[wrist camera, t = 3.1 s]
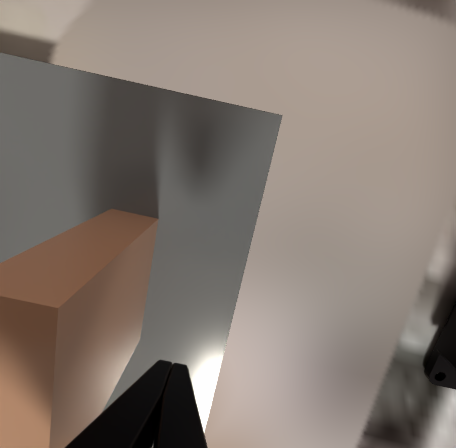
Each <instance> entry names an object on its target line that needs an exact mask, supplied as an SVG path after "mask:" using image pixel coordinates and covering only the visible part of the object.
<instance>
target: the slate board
mask: <svg viewBox="0 0 456 448" xmlns="http://www.w3.org/2000/svg"><path fill="white" fill-rule="evenodd" d="M281 119H282V115H279V114H274V113H269V112H265V111H260V110H256V109H252V108H247V107H243V106H238V105H234V104H229V103H225V102H220V101H216V100H211V99H207V98H202V97H198V96H193V95H189V94H184V93H179V92H175V91H171V90H166V89H161V88H157V87H153V86H148V85H143V84H139V83H135V82H130V81H126V80H121V79H117V78H112V77H108V76H103V75H99V74H95V73H90V72H86V71H81V70H77V69H72V68H68V67H63V66H59V65H54V64H50V63H45V62H41V61H36V60H32V59H27V58H23V57H18V56H14V55H9V54H5V53H0V263H1V262H3V261H6V260H8V259H10V258H12V257H14V256H16V255H18V254H20V253H22V252H24V251H26V250H28V249H30V248H32V247H34V246H36V245H38V244H40V243H42V242H44V241H46V240H48V239H51V238H53V237H55V236H57V235H59V234H61V233H63V232H65V231H67V230H69V229H71V228H73V227H75V226H77V225H79V224H81V223H83V222H85V221H87V220H89V219H91V218H94V217H96V216H98V215H100V214H102V213H104V212H106V211H108V210H110V209H115V210H120V211H125V212H129V213H134V214H139V215H143V216H148V217H152V218H157V219H158V226H157V232H156V239H155V245H154V252H153V258H152V265H151V271H150V278H149V284H148V290H147V297H146V303H145V310H144V316H143V323H142V329H141V336H140V340H139V342H138V344H137V346H136V348H135V350H134V352H133V354H132V356H131V358H130V360H129V361H128V363H127V365H126V367H125V369H124V371H123V373H122V375H121V377H120V379H119V381H118V383H117V385H116V386H115V388H114V390H113V392H112V394H111V396H110V398H109V400H108V402H107V404H106V406H105V408H104V409H103V411H104V410H105V409H106V408H107V407H109V406H110V405H111V404H112V403H113V402H114V401H115V400H116V399H117V398H118V397H119V396H120V395H121V394H122V393H124V392H125V391H126V390H127V389H128V388H129V387H130V386H131V385H132V384H133V383H134V382H135V381H136V380H138V379H139V378H140V377H141V376H142V375H143V374H144V373H145V372H146V371H147V370H148V369H149V368H150V367H151V366H153V365H154V364H155V363H156V362H157V361H158V360H166V361H171V362H172V363H173V364H174V363H181V364H185V365H187V366H188V369H189V374H190V378H191V382H192V386H193V390H194V394H195V398H196V402H197V406H198V410H199V414H200V419H201V423H202V427H203V431H204V432H205V427H206V423H207V419H208V415H209V411H210V407H211V403H212V399H213V395H214V390H215V387H216V382H217V379H218V375H219V371H220V367H221V362H222V359H223V355H224V350H225V346H226V342H227V338H228V334H229V330H230V326H231V322H232V318H233V314H234V310H235V306H236V302H237V298H238V294H239V290H240V286H241V281H242V277H243V273H244V269H245V265H246V261H247V257H248V253H249V249H250V245H251V241H252V237H253V232H254V229H255V225H256V220H257V217H258V212H259V208H260V204H261V200H262V196H263V192H264V188H265V184H266V180H267V176H268V172H269V168H270V164H271V160H272V156H273V152H274V147H275V144H276V140H277V136H278V131H279V127H280V123H281ZM103 411H102V412H103ZM152 448H153V447H152Z"/></svg>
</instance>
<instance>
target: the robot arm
mask: <svg viewBox="0 0 456 448" xmlns="http://www.w3.org/2000/svg"><path fill="white" fill-rule="evenodd" d="M424 373H425V375H426V377H427V378H428V379H429V380H430V382H431V383H432V384H434V385H438V386H442V387H447V388H452V389H456V303H455V305H454V307H453V309H452V312H451V314H450V316H449V318H448V320H447V322H446V324H445V326H444V329H443V331H442V333H441V335H440V337H439V339H438V341H437V344H436V346H435V348H434V350H433V352H432V354H431V356H430V358H429V361H428V363H427V365H426V367H425V370H424ZM437 373H438V374H437ZM152 447H153V448H207V443H206V439H205V435H204V431H203V427H202V423H201V419H200V414H199V410H198V406H197V402H196V398H195V394H194V390H193V386H192V382H191V378H190V374H189V369H188V366H187V365H185V364H181V363H174V364H173V363H172V362H171V361H166V360H158V361H157V362H156V363H155V364H154V365H153V366H151V367H150V368H149V369H148V370H147V371H146V372H145V373H144V374H143V375H142V376H141V377H140V378H139V379H138V380H136V381H135V382H134V383H133V384H132V385H131V386H130V387H129V388H128V389H127V390H126V391H125V392H124V393H122V394H121V395H120V396H119V397H118V398H117V399H116V400H115V401H114V402H113V403H112V404H111V405H110V406H109V407H107V408H106V409H105V410H104V411H103V412H102V413H101V414H100V415H99V416H98V417H97V418H96V419H95V420H94V421H92V422H91V423H90V424H89V425H88V426H87V427H86V428H85V429H84V430H83V431H82V432H81V433H80V434H79V435H77V436H76V437H75V438H74V439H73V440H72V441H71V442H70V443H69V444H68V445H67V446H66V447H65V448H152Z"/></svg>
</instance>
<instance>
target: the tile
mask: <svg viewBox="0 0 456 448" xmlns="http://www.w3.org/2000/svg"><path fill="white" fill-rule="evenodd" d="M157 226H158V219H157V218H152V217H148V216H143V215H139V214H134V213H129V212H125V211H120V210H115V209H110V210H108V211H106V212H104V213H102V214H100V215H98V216H96V217H94V218H91V219H89V220H87V221H85V222H83V223H81V224H79V225H77V226H75V227H73V228H71V229H69V230H67V231H65V232H63V233H61V234H59V235H57V236H55V237H53V238H51V239H48V240H46V241H44V242H42V243H40V244H38V245H36V246H34V247H32V248H30V249H28V250H26V251H24V252H22V253H20V254H18V255H16V256H14V257H12V258H10V259H8V260H6V261H3V262H1V263H0V448H65V447H66V446H67V445H68V444H69V443H70V442H71V441H72V440H73V439H74V438H75V437H76V436H77V435H79V434H80V433H81V432H82V431H83V430H84V429H85V428H86V427H87V426H88V425H89V424H90V423H91V422H92V421H94V420H95V419H96V418H97V417H98V416H99V415H100V414H101V413H102V411H103V409H104V408H105V406H106V404H107V402H108V400H109V398H110V396H111V394H112V392H113V390H114V388H115V386H116V385H117V383H118V381H119V379H120V377H121V375H122V373H123V371H124V369H125V367H126V365H127V363H128V361H129V360H130V358H131V356H132V354H133V352H134V350H135V348H136V346H137V344H138V342H139V340H140V336H141V329H142V323H143V316H144V310H145V303H146V297H147V290H148V284H149V278H150V271H151V265H152V258H153V252H154V245H155V239H156V232H157Z"/></svg>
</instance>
